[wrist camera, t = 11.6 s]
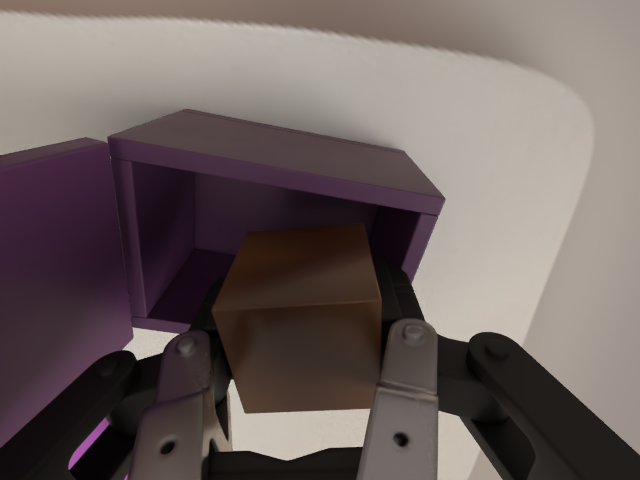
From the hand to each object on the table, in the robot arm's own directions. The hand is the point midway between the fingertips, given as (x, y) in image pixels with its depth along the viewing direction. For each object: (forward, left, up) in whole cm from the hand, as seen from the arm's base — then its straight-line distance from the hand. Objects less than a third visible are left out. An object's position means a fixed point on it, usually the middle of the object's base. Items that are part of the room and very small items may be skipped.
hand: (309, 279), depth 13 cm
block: (0, 0, 0) cm, 0 cm away
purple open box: (+2, 0, -7) cm, 7 cm away
